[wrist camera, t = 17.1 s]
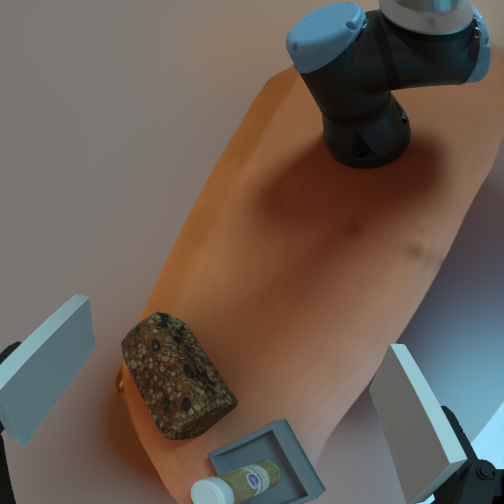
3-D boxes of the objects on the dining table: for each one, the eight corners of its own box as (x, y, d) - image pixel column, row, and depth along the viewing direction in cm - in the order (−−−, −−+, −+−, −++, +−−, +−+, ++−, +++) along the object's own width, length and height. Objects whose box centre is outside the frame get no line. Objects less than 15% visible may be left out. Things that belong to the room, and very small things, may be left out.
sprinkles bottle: (288, 475, 33) (231, 505, 22) (266, 492, 33) (206, 522, 22) (267, 452, 36) (205, 472, 25) (246, 470, 36) (182, 491, 25)
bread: (153, 354, 54) (110, 345, 46) (188, 317, 53) (146, 302, 45) (200, 439, 42) (153, 445, 34) (245, 404, 41) (201, 406, 33)
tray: (221, 450, 40) (207, 453, 37) (285, 418, 37) (274, 421, 35) (254, 514, 32) (242, 522, 30) (325, 489, 30) (317, 498, 27)
